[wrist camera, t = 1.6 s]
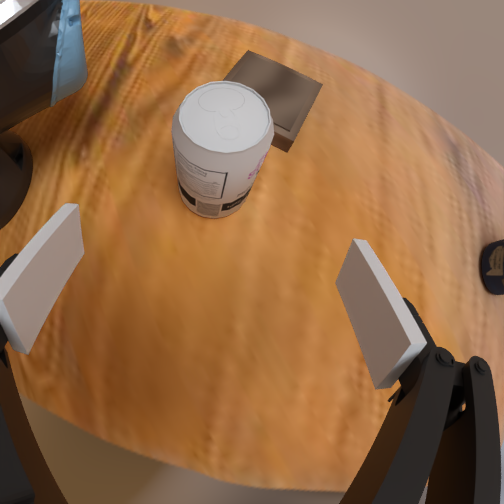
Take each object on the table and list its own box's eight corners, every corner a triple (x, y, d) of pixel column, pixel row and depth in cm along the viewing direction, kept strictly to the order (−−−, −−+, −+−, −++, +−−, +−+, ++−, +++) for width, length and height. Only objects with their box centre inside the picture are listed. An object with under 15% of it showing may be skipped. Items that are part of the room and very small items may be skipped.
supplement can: (174, 162, 35) (166, 82, 21) (240, 153, 37) (264, 73, 23) (184, 225, 34) (176, 168, 20) (254, 213, 36) (291, 153, 21)
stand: (205, 114, 37) (207, 99, 34) (244, 63, 40) (248, 48, 37) (287, 152, 38) (294, 140, 35) (315, 96, 41) (323, 83, 38)
